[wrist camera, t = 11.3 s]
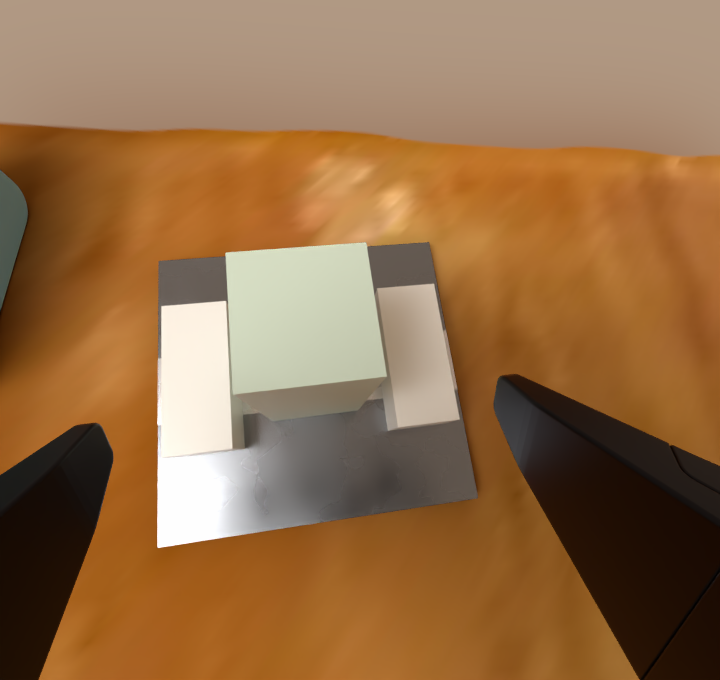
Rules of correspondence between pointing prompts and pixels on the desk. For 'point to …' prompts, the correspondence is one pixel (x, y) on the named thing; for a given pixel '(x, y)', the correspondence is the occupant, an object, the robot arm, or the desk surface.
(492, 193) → the desk surface
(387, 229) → the desk surface
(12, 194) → the data package
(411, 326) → the mounted modules
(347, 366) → the block
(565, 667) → the desk surface
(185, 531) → the mounting plate
